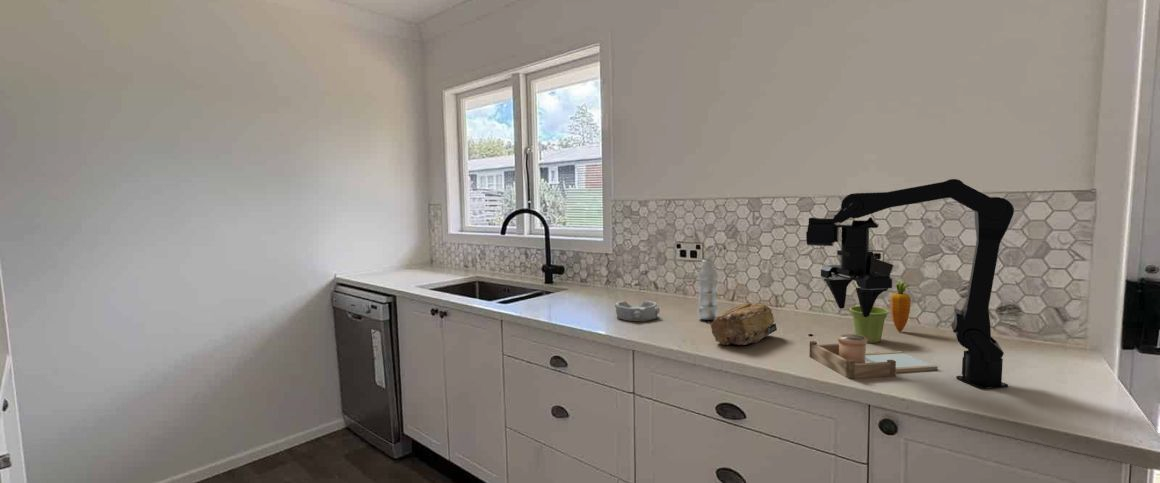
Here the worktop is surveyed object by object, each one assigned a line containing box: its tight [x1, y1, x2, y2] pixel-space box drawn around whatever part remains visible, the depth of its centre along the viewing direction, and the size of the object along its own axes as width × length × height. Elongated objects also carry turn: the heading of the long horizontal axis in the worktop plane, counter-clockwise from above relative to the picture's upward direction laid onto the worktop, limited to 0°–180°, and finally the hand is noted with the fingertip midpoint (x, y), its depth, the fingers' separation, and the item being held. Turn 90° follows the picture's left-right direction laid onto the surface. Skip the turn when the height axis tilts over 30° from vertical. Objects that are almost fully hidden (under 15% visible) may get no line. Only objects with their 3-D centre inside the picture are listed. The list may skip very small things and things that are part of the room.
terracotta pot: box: [837, 333, 868, 364], centre depth 123 cm, size 6×6×7 cm
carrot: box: [890, 281, 912, 333], centre depth 151 cm, size 5×5×15 cm
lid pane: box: [865, 350, 939, 373], centre depth 124 cm, size 12×11×1 cm
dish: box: [614, 300, 661, 322], centre depth 177 cm, size 14×14×5 cm
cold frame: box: [809, 340, 897, 380], centre depth 123 cm, size 16×11×4 cm
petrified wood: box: [710, 302, 778, 346], centre depth 147 cm, size 19×13×10 cm
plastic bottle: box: [696, 258, 719, 321], centre depth 170 cm, size 6×7×20 cm
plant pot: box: [849, 305, 890, 344], centre depth 143 cm, size 9×9×9 cm
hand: (853, 312), depth 122 cm, fingers open, 9 cm apart
